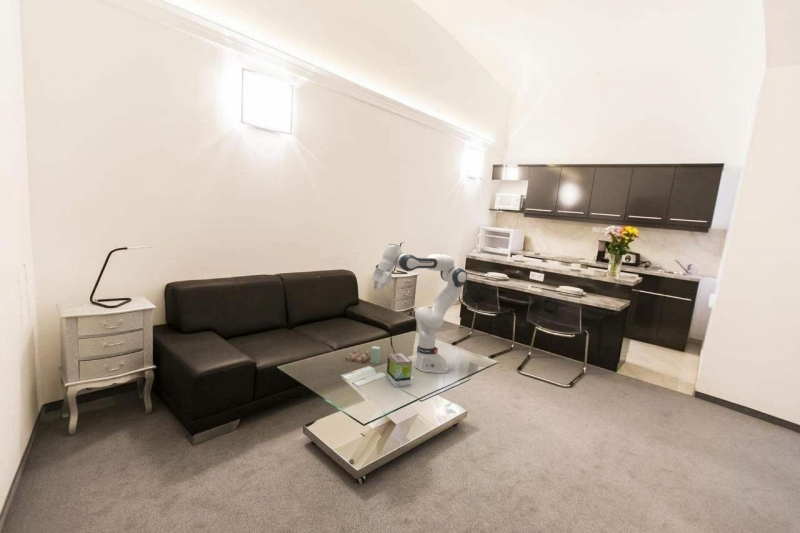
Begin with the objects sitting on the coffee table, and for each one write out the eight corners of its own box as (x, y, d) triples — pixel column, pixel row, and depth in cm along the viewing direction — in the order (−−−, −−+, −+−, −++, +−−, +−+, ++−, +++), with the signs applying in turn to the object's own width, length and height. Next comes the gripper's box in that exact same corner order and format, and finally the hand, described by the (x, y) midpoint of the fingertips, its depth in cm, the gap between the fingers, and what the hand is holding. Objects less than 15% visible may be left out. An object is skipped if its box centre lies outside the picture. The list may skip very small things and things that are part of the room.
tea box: (410, 385, 210) (412, 360, 209) (394, 387, 206) (396, 362, 205) (401, 375, 224) (402, 352, 222) (385, 377, 220) (387, 353, 219)
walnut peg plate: (371, 357, 251) (371, 350, 251) (364, 363, 240) (365, 356, 239) (352, 354, 255) (352, 347, 254) (345, 360, 243) (345, 353, 243)
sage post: (379, 361, 246) (380, 347, 245) (377, 363, 241) (378, 349, 240) (372, 360, 247) (373, 345, 246) (370, 362, 242) (371, 348, 241)
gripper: (396, 272, 213) (388, 294, 213) (383, 268, 232) (375, 288, 231) (387, 268, 211) (378, 291, 210) (375, 265, 229) (367, 285, 229)
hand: (377, 289), depth 221 cm, fingers open, 8 cm apart
